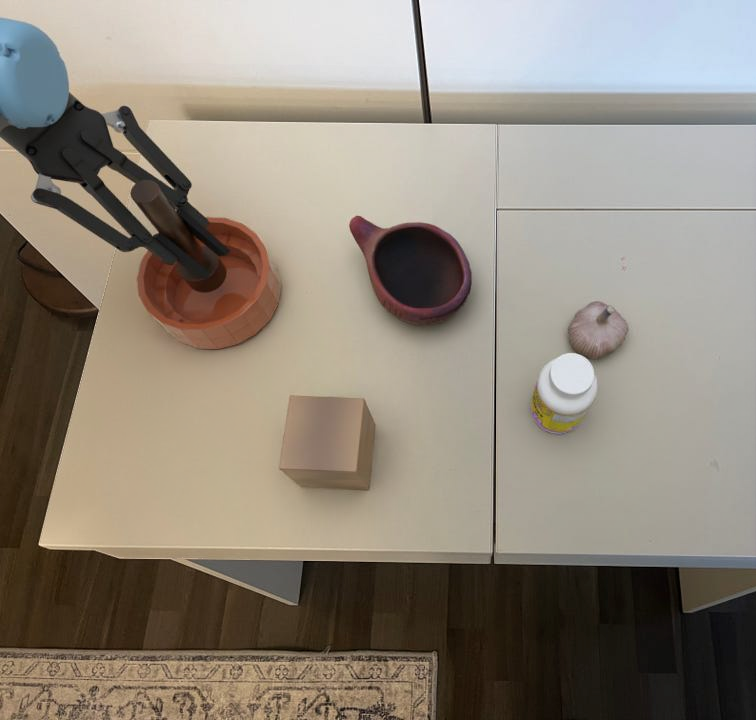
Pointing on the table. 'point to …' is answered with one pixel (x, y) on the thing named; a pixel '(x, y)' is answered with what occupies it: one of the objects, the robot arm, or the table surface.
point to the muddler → (178, 235)
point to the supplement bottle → (563, 393)
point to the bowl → (414, 269)
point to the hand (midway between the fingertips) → (214, 264)
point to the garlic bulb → (597, 330)
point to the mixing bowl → (214, 292)
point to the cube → (328, 443)
